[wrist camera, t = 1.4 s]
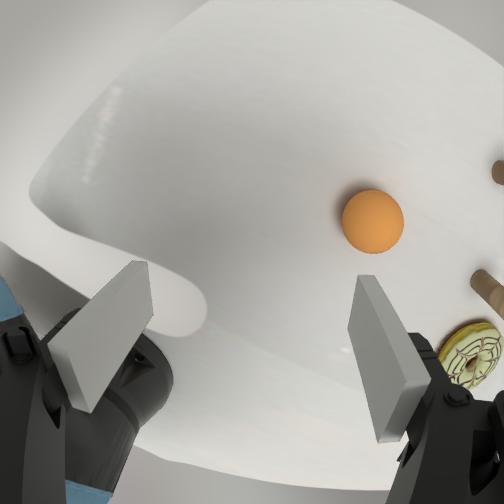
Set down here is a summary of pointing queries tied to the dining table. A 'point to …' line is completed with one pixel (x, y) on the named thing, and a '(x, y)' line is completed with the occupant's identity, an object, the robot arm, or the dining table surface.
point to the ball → (372, 221)
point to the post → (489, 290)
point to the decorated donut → (471, 354)
